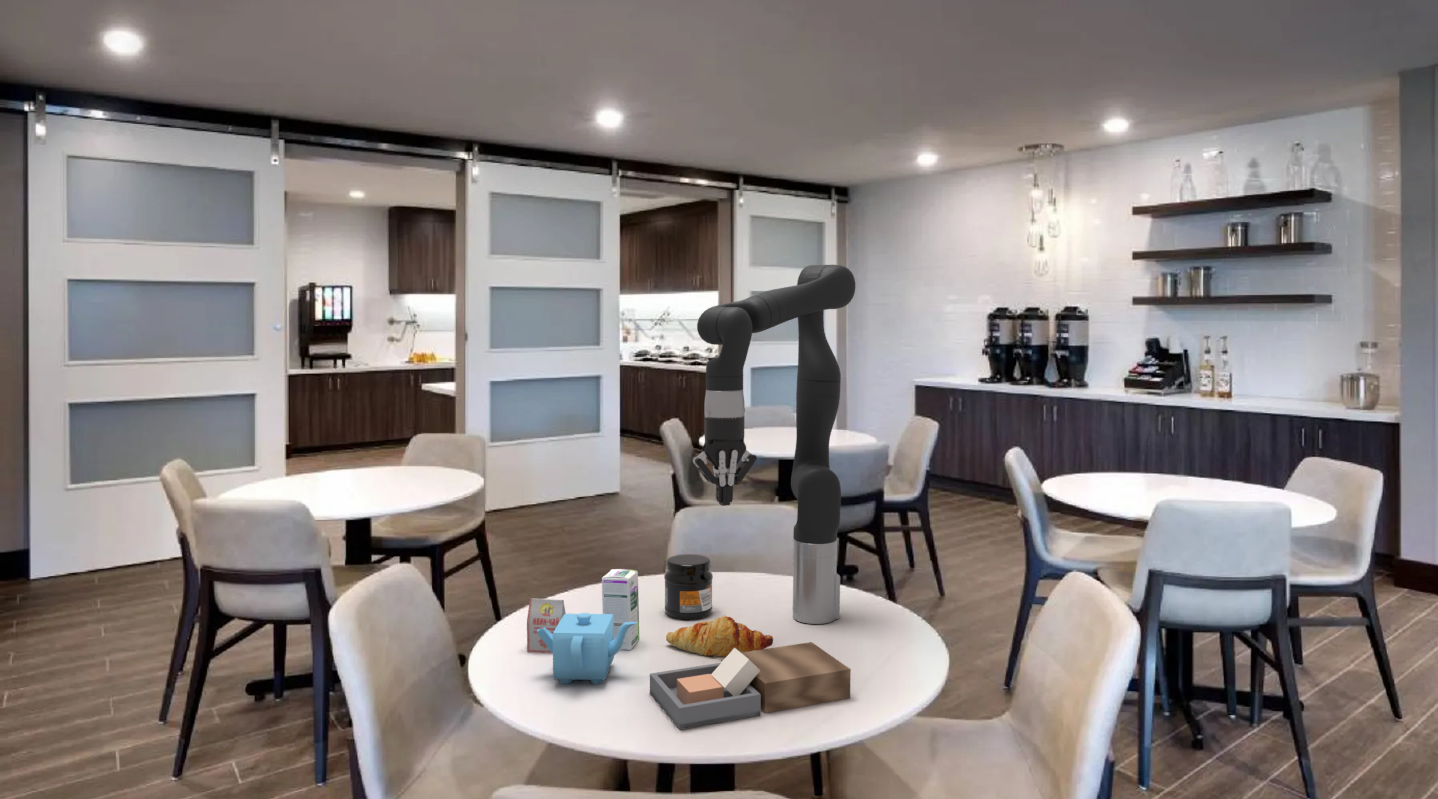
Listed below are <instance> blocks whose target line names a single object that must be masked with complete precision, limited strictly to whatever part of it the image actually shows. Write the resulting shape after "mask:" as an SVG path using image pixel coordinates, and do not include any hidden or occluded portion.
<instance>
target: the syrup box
mask: <svg viewBox="0 0 1438 799" xmlns="http://www.w3.org/2000/svg"><path fill="white" fill-rule="evenodd" d="M638 571H639V570H636V569H635V570H634V569H627V568H615V569H612V568H611V569H610V571H608V572H607V573H605V574H604V576H602V577H601V592H602V593H601V594H602V596H601V597H602V599H601V600H602V614H613V615H614V639H615V638H616V636H617V634H618V631H619V628H620V626H621V625H622V624H623V623H625V622H637V623H636V624H634V625H632V626H631V627H630V628H628V630H627V631H626V634H625V636H624V640H623V643H622V646H621V648H620V650H621V651H631V650H632V649H633V647H635V646H636V644H637V643H638V642H639V641H640V617H639V616H640V614H639V613H640V612H639V611H640V610H639V608H640V606H639V572H638ZM620 650H619V651H620Z"/></svg>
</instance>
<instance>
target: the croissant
mask: <svg viewBox="0 0 1438 799" xmlns="http://www.w3.org/2000/svg"><path fill="white" fill-rule="evenodd" d="M665 640H666V641H667V643H668V644H670V645H672V646H673V647H676V648H678V649H679V650H683V651H687V652H690V653H693V654H697V655H701V656H704V657H707V656H709V657H711V656H714V657H727V656H728V655H729V653H730V652H731V651H732V650H733V649H734V648H736V649H737V650H738V651H739V652H741V653H742V652H749V651H755V650H762V649H768V648H769V647H771V646H772V644H774V638H773V636H772V635H770V634H769V635H768V634H765V635H764V634H763V632H761V631H759V630H757V629H755V630H754V629H753V630H752V629H751V628H749V627H748V626H747V625H745V624H743V623H740V622H736V621H735V619H734V618H733V617H731V616H727V615H722V616H720V617H716V618H714V619H713V620H710V621H699V622H697V623H694V624H693V625H690V626H686V627H685V626H684V627H680V628H678V629H676V630H674V631H673V632H667V634H666V636H665Z"/></svg>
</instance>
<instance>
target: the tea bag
mask: <svg viewBox="0 0 1438 799" xmlns="http://www.w3.org/2000/svg"><path fill="white" fill-rule="evenodd" d="M528 600H529V601H528V602H529V603H528V612H527V618H526V645H527V646H526V647H527V648H526V649H527V650H526V652H529V653H540V654H541V653H542V654H543V653H544V654H552V652H551V651H550V650H549V648H548V647H547V645H546V644H545V643H544V641H543V640H542V639H541V637H540V636H539V635H538V633H537V630H538V629H541V628H545V627H546V629H547V630H548V631H550V632H551V633H552V634H553V632H554V631H555V629H556V627H557V626H558V624H559V622H560V621H561V619H562V617H563V616H564V614H567V612H566V607H565V602H564V601H565V600H564V599H552V598H551V599H550V598H549V599H548V598H529V599H528Z"/></svg>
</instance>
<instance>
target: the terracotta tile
mask: <svg viewBox="0 0 1438 799" xmlns="http://www.w3.org/2000/svg"><path fill="white" fill-rule="evenodd" d="M677 697H678V698H679V699H680V700H681V701H682V703H683V704H684V705H685V704H691V703H697V702H702V701H708V700H714V699H720V698H724V687H723V686H722V685H721V684H720V683H719V682H718V681H717V680H716V679H715V678H714V677H713V676H712V675H711V674H705V675H699V676H692V677H686V678H680V679H677Z"/></svg>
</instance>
